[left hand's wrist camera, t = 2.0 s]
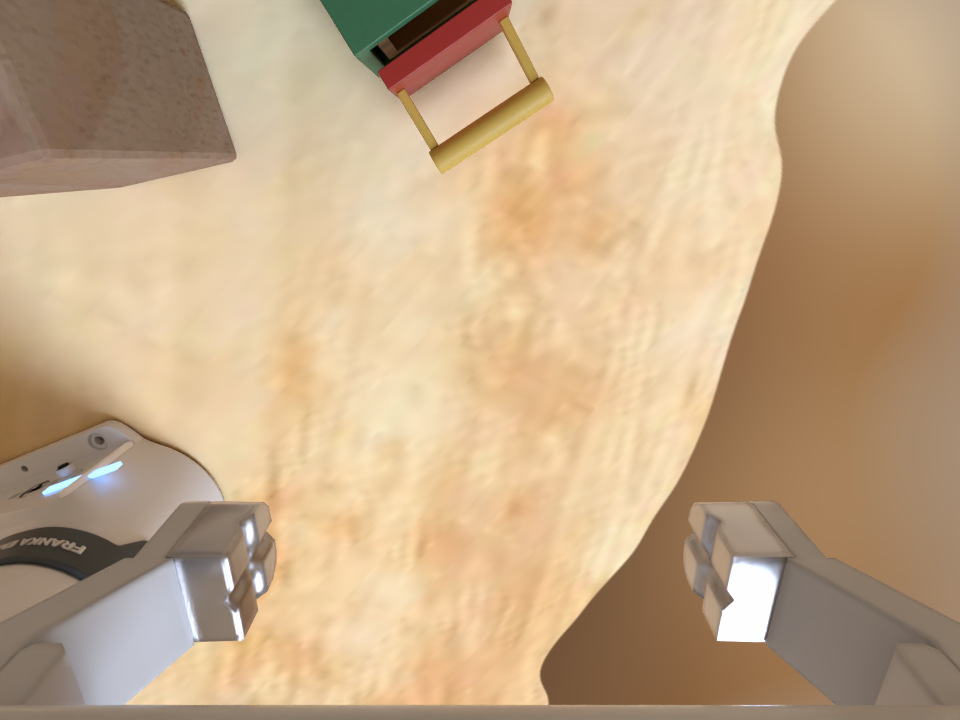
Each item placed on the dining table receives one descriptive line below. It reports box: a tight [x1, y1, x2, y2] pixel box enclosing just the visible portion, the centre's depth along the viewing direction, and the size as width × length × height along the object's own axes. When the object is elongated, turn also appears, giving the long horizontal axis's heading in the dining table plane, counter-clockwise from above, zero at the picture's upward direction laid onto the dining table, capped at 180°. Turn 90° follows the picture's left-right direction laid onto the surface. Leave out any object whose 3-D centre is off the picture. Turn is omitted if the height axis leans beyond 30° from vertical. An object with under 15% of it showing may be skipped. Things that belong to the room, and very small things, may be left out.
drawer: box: [378, 0, 554, 174], centre depth 34 cm, size 19×9×7 cm, turn 32°
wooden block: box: [0, 0, 236, 197], centre depth 30 cm, size 10×10×20 cm
